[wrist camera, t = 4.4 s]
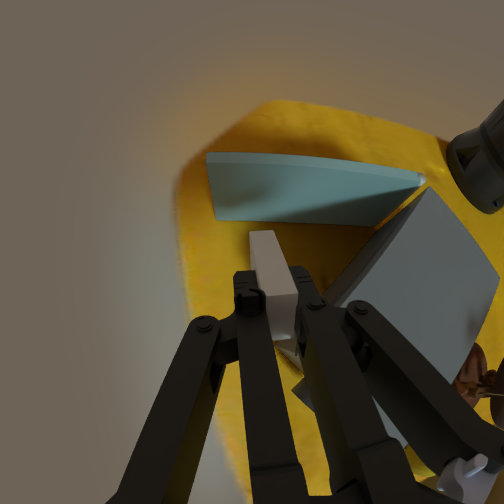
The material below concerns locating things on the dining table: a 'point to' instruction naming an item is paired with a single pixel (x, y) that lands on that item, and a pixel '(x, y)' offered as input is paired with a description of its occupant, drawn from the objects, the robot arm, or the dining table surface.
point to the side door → (305, 188)
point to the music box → (481, 383)
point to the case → (418, 287)
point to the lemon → (417, 463)
